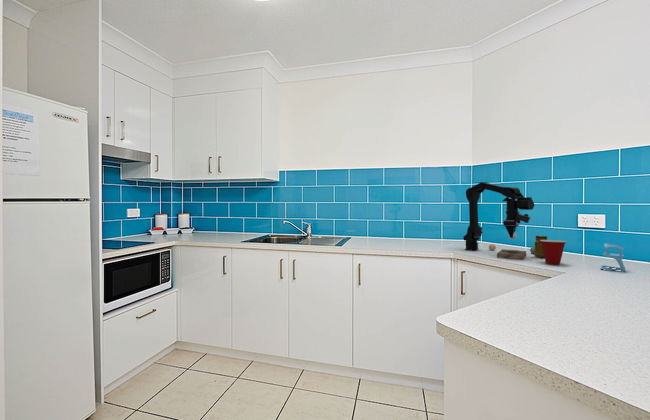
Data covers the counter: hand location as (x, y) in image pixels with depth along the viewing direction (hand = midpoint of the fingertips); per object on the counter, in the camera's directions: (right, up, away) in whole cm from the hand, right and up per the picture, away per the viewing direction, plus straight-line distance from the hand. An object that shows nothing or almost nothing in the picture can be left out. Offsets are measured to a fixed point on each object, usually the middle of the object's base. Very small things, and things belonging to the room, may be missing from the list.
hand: (512, 237), depth 173 cm
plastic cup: (+8, -12, -20) cm, 24 cm away
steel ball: (0, +1, 0) cm, 1 cm away
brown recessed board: (0, -11, 0) cm, 11 cm away
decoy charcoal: (+17, -9, +7) cm, 20 cm away
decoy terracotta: (0, -8, +21) cm, 22 cm away
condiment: (+14, -11, -5) cm, 19 cm away
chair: (+25, -12, -34) cm, 44 cm away
